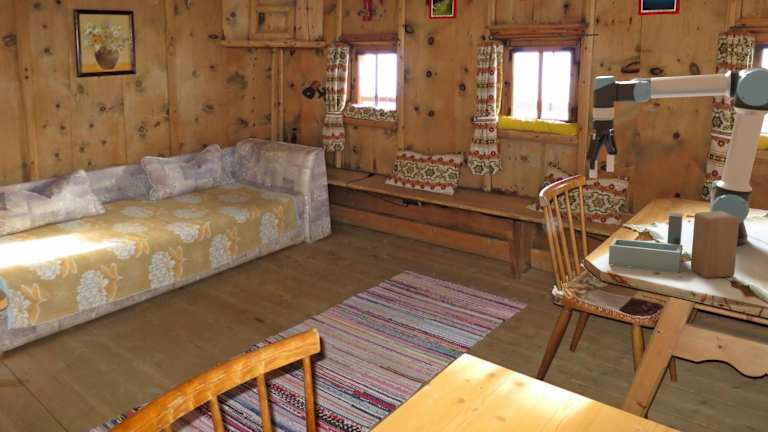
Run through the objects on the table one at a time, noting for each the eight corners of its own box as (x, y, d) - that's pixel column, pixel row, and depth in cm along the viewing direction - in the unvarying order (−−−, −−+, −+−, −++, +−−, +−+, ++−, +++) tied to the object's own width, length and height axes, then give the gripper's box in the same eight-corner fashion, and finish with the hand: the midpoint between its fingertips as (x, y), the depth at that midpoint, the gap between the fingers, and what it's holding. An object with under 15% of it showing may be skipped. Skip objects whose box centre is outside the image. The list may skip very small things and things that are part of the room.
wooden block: (689, 269, 222) (693, 211, 217) (717, 267, 223) (722, 209, 218) (705, 279, 213) (710, 219, 207) (735, 277, 213) (741, 217, 208)
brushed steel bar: (679, 257, 234) (682, 213, 230) (678, 260, 231) (681, 216, 226) (667, 256, 236) (670, 212, 232) (666, 259, 232) (669, 215, 228)
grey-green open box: (681, 264, 227) (682, 244, 225) (678, 272, 219) (679, 252, 218) (613, 256, 238) (614, 238, 236) (608, 264, 230) (609, 245, 228)
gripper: (609, 114, 257) (607, 168, 262) (577, 122, 240) (576, 179, 245) (628, 115, 251) (626, 170, 257) (596, 123, 234) (595, 181, 240)
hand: (601, 174), depth 251 cm, fingers open, 13 cm apart
